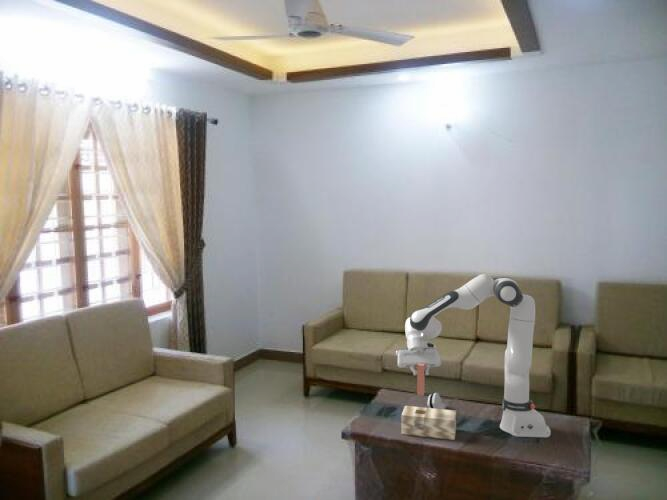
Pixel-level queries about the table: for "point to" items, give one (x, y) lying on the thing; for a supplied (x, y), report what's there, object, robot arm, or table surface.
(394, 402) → the table surface
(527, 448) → the table surface
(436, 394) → the hinge
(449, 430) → the beige wooden block
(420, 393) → the salmon pink square peg
